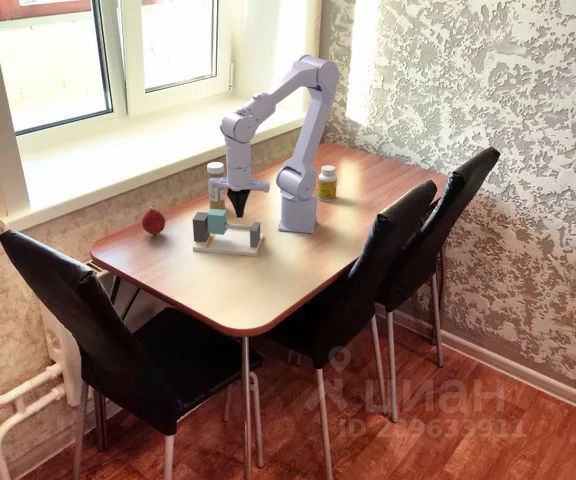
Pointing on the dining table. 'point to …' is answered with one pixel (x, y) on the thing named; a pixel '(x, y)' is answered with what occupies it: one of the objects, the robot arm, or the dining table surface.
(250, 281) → the dining table surface
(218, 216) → the sleeve
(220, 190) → the sprinkles bottle
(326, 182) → the supplement bottle
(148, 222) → the onion
